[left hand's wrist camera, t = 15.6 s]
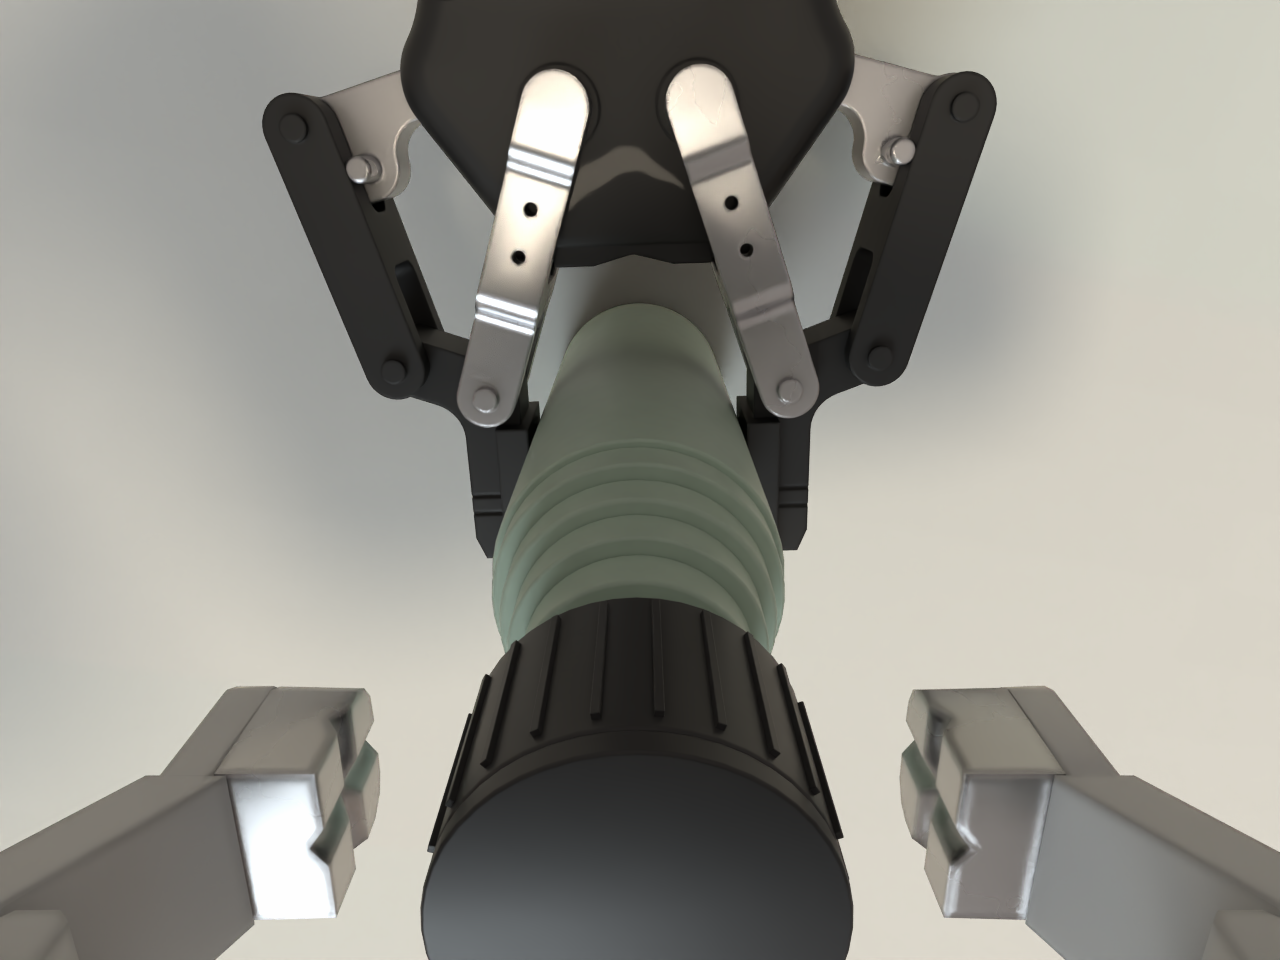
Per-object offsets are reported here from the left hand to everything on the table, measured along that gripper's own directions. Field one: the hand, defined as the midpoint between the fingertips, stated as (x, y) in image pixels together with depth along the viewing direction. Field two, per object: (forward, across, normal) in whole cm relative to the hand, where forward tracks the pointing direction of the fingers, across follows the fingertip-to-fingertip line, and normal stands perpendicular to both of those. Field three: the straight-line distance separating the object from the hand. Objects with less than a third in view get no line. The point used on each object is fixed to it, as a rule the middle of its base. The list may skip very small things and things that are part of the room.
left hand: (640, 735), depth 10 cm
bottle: (+17, 0, 0) cm, 17 cm away
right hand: (+10, 0, -3) cm, 10 cm away
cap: (0, 0, 0) cm, 0 cm away
